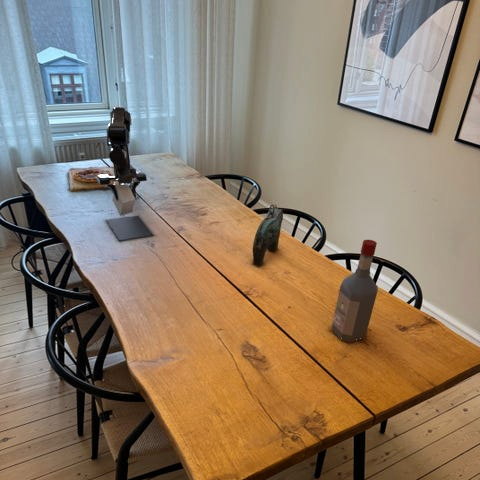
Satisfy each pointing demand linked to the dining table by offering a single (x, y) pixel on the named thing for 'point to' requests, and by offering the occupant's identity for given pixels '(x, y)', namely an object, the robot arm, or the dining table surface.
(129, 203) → the small box
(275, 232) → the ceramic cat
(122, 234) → the placemat
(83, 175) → the pizza
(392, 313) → the dining table surface
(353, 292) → the liquor
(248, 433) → the dining table surface
